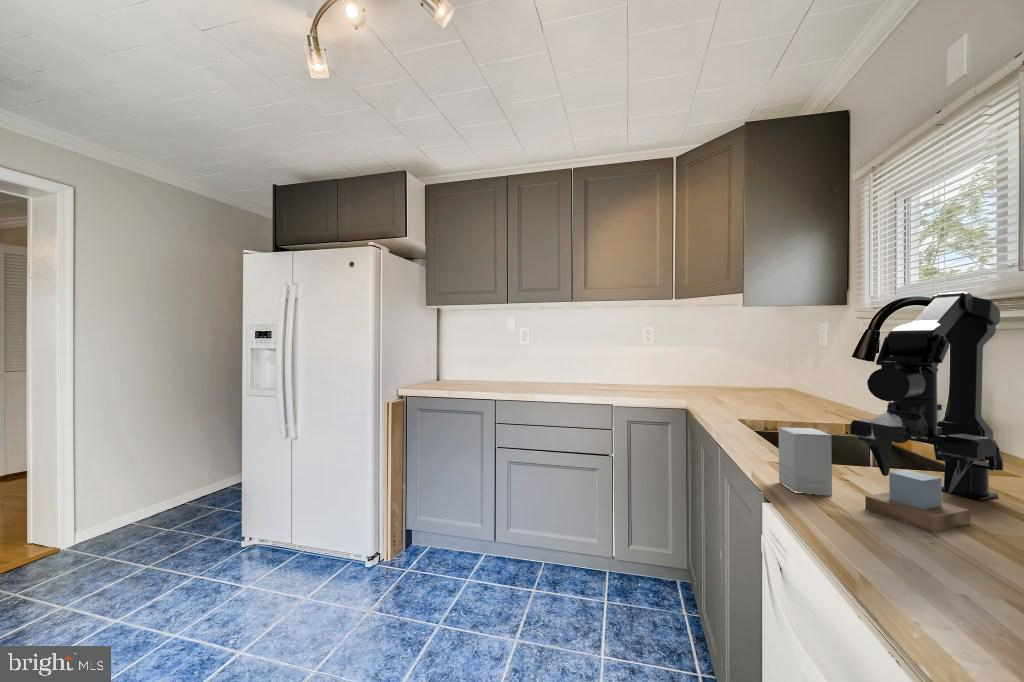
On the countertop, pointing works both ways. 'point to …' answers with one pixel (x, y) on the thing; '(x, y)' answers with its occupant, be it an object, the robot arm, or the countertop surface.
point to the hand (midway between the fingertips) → (914, 483)
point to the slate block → (915, 489)
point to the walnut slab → (919, 513)
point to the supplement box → (805, 460)
